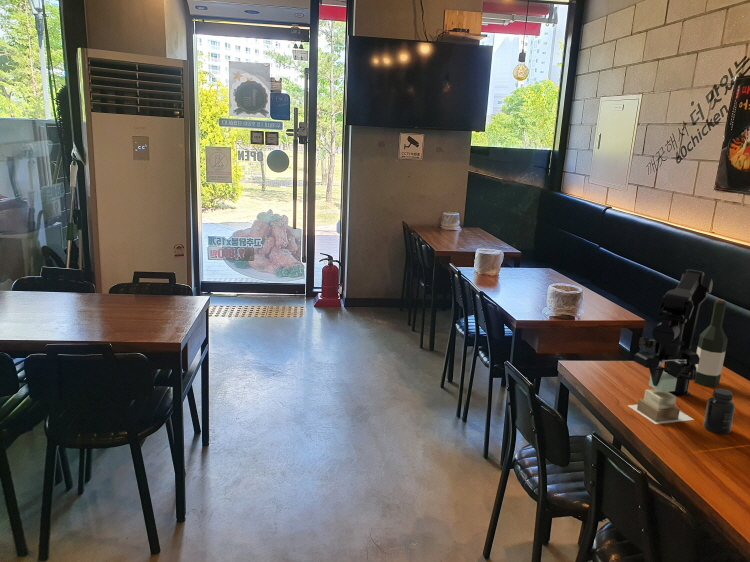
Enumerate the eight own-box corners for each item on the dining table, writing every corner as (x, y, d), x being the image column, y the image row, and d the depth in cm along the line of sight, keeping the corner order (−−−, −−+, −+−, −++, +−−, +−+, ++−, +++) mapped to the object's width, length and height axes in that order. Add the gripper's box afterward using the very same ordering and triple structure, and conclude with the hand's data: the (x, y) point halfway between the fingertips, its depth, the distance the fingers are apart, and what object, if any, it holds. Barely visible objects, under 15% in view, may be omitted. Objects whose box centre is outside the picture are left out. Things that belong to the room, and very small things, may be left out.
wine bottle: (719, 381, 198) (735, 299, 190) (718, 389, 191) (735, 304, 183) (692, 375, 202) (707, 295, 195) (690, 383, 195) (706, 300, 188)
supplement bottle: (726, 426, 165) (734, 389, 162) (732, 437, 158) (740, 398, 156) (700, 422, 167) (707, 385, 164) (705, 432, 161) (713, 394, 158)
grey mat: (664, 402, 179) (664, 401, 179) (694, 420, 168) (694, 419, 168) (627, 406, 175) (627, 405, 175) (655, 424, 164) (655, 424, 164)
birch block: (659, 398, 173) (661, 388, 172) (674, 407, 167) (676, 396, 166) (643, 400, 171) (645, 389, 170) (657, 409, 166) (659, 398, 165)
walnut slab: (658, 407, 175) (660, 397, 174) (677, 419, 167) (680, 408, 166) (636, 409, 173) (638, 399, 172) (655, 422, 165) (657, 411, 164)
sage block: (662, 383, 171) (664, 371, 170) (674, 390, 166) (677, 378, 165) (648, 385, 170) (650, 373, 169) (660, 392, 165) (663, 379, 164)
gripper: (676, 325, 174) (667, 372, 178) (625, 328, 169) (617, 376, 173) (705, 337, 163) (695, 386, 167) (651, 341, 159) (643, 392, 162)
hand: (662, 384), depth 168 cm, fingers closed on sage block, 5 cm apart
